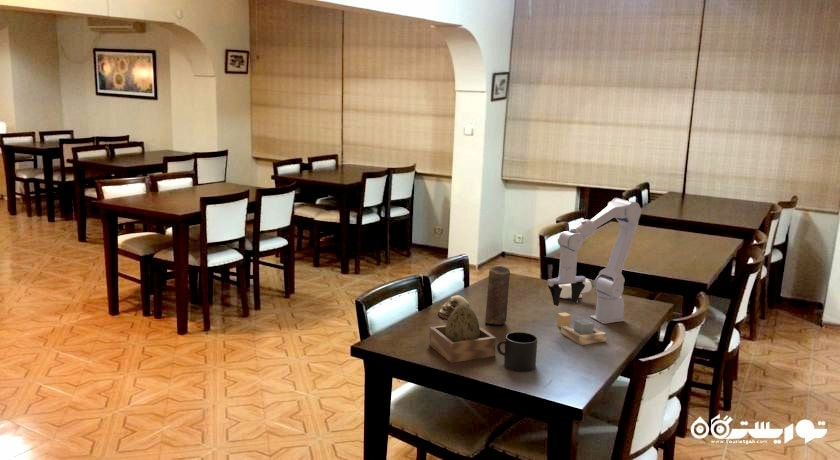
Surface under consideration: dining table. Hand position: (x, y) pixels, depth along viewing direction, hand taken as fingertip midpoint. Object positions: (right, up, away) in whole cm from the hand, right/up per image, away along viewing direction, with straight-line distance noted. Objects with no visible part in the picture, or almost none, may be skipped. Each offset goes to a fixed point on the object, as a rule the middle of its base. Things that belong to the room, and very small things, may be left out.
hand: (565, 303), depth 244 cm
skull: (-38, -6, +10) cm, 40 cm away
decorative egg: (-37, -13, -22) cm, 45 cm away
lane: (+4, -10, -7) cm, 13 cm away
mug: (-22, -15, -33) cm, 42 cm away
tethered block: (+2, -9, -3) cm, 10 cm away
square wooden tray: (-37, -12, -22) cm, 45 cm away
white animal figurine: (+10, -2, +33) cm, 34 cm away
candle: (-24, -7, +3) cm, 25 cm away
